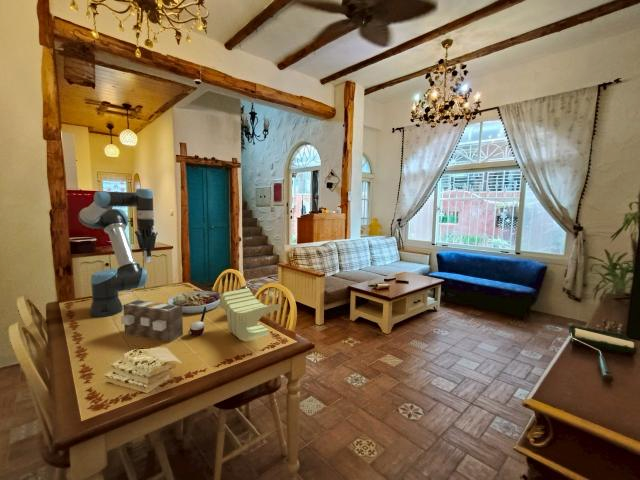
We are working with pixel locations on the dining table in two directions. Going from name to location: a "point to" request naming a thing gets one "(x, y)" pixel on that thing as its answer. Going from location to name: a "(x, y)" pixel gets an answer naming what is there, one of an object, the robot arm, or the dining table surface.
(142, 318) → the middle button
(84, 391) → the dining table surface
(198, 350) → the dining table surface
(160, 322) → the button
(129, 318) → the button
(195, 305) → the bowl
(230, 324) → the slatted curved stool
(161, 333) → the button panel
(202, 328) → the cocoa
